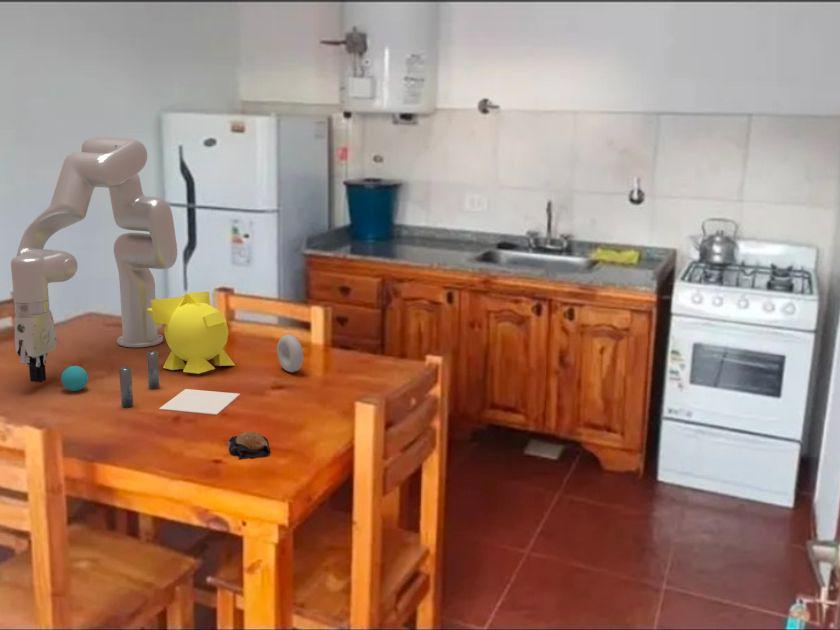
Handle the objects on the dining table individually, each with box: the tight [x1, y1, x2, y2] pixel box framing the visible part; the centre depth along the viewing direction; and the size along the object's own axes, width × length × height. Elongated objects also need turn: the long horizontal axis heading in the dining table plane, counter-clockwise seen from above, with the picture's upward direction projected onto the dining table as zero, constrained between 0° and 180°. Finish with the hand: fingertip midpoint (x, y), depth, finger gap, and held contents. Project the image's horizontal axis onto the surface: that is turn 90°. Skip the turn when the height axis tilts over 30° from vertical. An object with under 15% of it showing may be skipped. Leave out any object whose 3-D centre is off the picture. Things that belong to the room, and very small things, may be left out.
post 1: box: [118, 366, 134, 409], centre depth 197 cm, size 3×3×9 cm
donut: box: [276, 334, 304, 373], centre depth 225 cm, size 10×3×10 cm, turn 40°
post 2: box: [146, 350, 161, 390], centre depth 210 cm, size 3×3×9 cm
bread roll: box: [226, 431, 272, 461], centre depth 176 cm, size 11×8×4 cm
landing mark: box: [158, 388, 241, 416], centre depth 202 cm, size 14×14×1 cm
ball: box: [60, 365, 89, 392], centre depth 207 cm, size 6×6×6 cm
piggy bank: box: [147, 291, 236, 375], centre depth 226 cm, size 20×20×19 cm
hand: (38, 380), depth 208 cm, fingers closed
